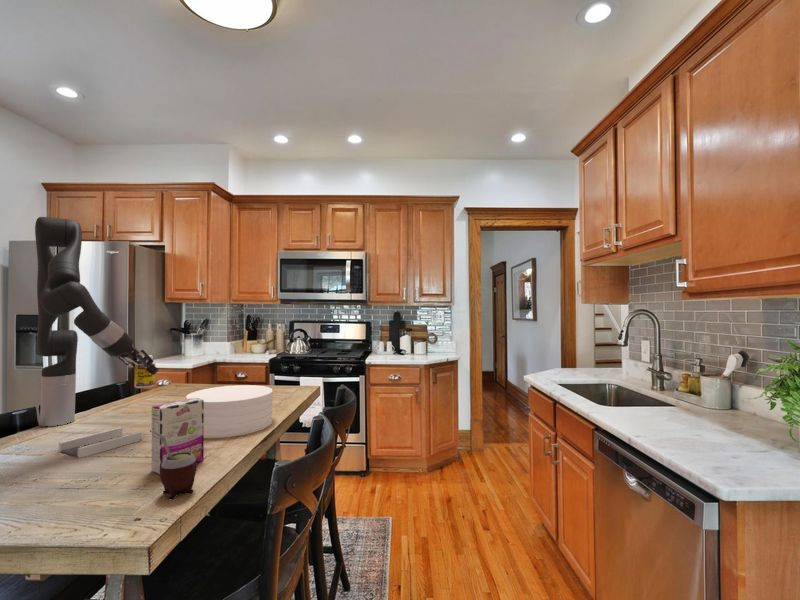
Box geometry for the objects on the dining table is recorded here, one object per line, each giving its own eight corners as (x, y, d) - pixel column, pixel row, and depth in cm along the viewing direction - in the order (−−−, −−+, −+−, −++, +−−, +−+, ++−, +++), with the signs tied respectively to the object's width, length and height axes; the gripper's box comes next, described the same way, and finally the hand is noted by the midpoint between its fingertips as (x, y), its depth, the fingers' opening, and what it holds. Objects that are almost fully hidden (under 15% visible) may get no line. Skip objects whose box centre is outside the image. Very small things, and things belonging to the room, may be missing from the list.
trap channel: (79, 458, 103) (80, 448, 104) (58, 451, 108) (58, 442, 108) (141, 440, 118) (141, 432, 118) (120, 435, 123) (120, 427, 123)
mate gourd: (202, 485, 87) (203, 419, 88) (183, 502, 79) (185, 430, 80) (169, 485, 87) (170, 419, 88) (147, 503, 79) (148, 430, 80)
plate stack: (284, 415, 147) (284, 385, 147) (248, 439, 119) (249, 403, 119) (216, 413, 150) (216, 384, 150) (165, 437, 122) (166, 400, 122)
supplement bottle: (133, 389, 121) (134, 357, 121) (134, 386, 125) (135, 355, 126) (154, 387, 124) (155, 356, 124) (154, 384, 128) (155, 354, 129)
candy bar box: (193, 457, 104) (194, 396, 105) (204, 460, 102) (205, 399, 102) (149, 471, 95) (150, 405, 95) (159, 476, 92) (161, 408, 93)
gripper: (134, 329, 115) (172, 364, 126) (107, 328, 121) (145, 361, 132) (114, 348, 110) (155, 383, 121) (87, 346, 116) (128, 379, 127)
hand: (150, 371), depth 126 cm, fingers closed on supplement bottle, 5 cm apart
